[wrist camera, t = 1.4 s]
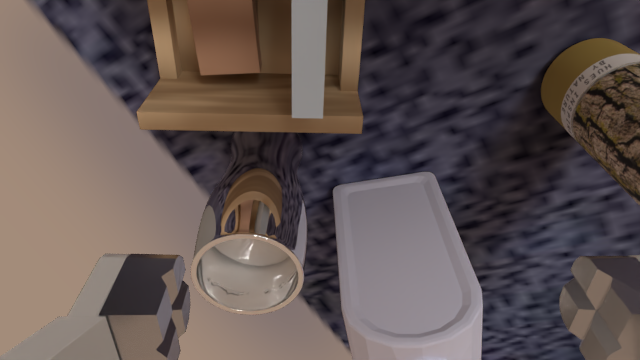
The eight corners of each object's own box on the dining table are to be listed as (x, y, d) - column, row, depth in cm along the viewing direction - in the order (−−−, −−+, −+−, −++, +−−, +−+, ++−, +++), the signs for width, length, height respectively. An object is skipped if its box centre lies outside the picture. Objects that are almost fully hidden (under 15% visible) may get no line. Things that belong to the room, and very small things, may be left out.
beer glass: (270, 94, 37) (250, 211, 24) (324, 154, 40) (331, 283, 27) (208, 142, 39) (161, 271, 26) (263, 195, 42) (244, 332, 30)
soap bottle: (343, 242, 45) (368, 511, 26) (332, 184, 42) (351, 451, 23) (435, 229, 45) (529, 496, 26) (432, 169, 41) (540, 431, 22)
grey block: (296, -94, 29) (291, -81, 21) (325, -93, 29) (330, -79, 21) (295, 63, 34) (291, 117, 27) (319, 64, 34) (323, 118, 27)
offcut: (180, -68, 28) (174, -65, 27) (246, -71, 28) (243, -68, 27) (205, 67, 33) (200, 75, 31) (262, 64, 33) (260, 72, 31)
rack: (137, -139, 28) (84, -142, 21) (367, -130, 28) (385, -130, 22) (171, 81, 36) (140, 129, 29) (352, 85, 36) (361, 133, 30)
